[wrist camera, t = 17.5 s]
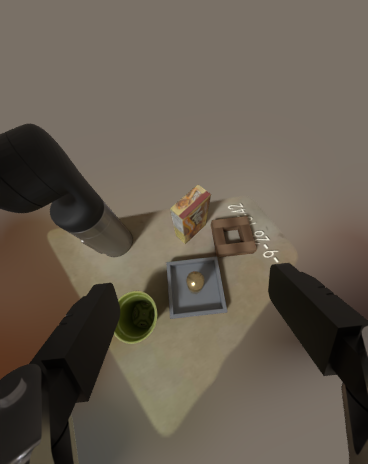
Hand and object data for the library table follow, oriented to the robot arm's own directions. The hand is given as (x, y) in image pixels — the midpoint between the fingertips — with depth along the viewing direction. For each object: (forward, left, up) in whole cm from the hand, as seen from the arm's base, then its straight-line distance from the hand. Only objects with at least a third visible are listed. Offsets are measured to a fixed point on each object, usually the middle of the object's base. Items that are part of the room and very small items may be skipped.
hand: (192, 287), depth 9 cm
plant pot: (-12, -1, -37) cm, 39 cm away
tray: (+1, +4, -37) cm, 37 cm away
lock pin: (+1, +4, -36) cm, 36 cm away
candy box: (+2, +20, -37) cm, 42 cm away
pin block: (+13, +16, -37) cm, 42 cm away
